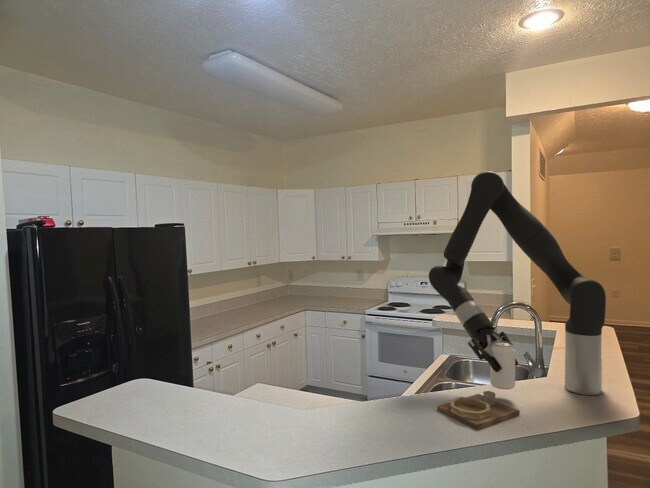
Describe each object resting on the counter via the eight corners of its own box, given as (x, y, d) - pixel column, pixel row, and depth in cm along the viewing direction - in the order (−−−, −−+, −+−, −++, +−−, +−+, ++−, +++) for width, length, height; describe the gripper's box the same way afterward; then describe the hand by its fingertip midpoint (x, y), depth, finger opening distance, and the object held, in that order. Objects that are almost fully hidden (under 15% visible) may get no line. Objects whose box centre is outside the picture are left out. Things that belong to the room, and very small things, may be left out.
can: (517, 390, 116) (517, 347, 116) (492, 389, 117) (492, 346, 117) (512, 382, 122) (512, 340, 122) (488, 380, 124) (488, 340, 123)
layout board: (478, 397, 121) (478, 383, 121) (519, 414, 110) (519, 398, 109) (437, 410, 113) (437, 394, 113) (477, 429, 101) (477, 412, 101)
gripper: (463, 314, 122) (498, 366, 112) (496, 308, 129) (532, 356, 119) (449, 329, 127) (482, 380, 117) (482, 323, 134) (515, 370, 124)
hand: (507, 368), depth 118 cm, fingers closed on can, 6 cm apart
